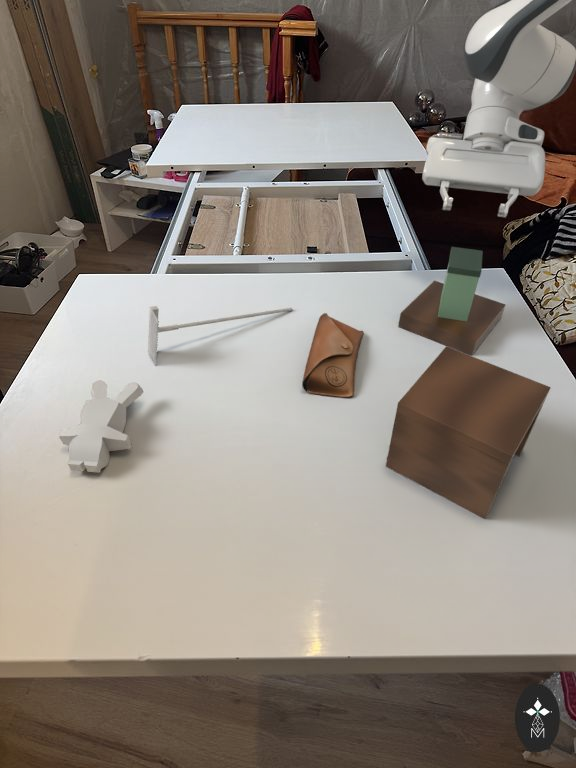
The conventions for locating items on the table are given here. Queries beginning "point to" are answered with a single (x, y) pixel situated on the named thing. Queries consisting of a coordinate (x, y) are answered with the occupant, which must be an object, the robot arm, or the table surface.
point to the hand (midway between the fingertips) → (474, 212)
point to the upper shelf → (463, 428)
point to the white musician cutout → (99, 428)
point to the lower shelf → (451, 320)
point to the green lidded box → (460, 283)
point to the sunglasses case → (332, 359)
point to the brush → (155, 329)
